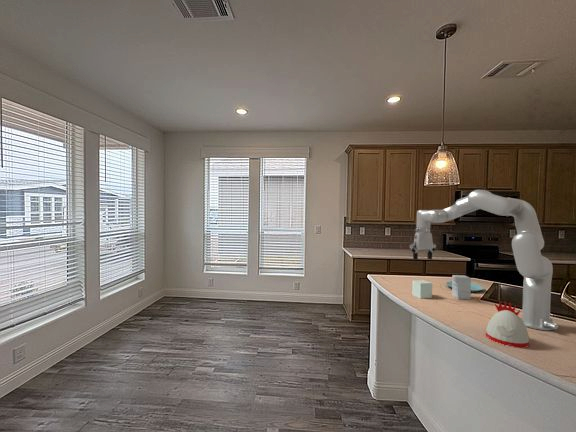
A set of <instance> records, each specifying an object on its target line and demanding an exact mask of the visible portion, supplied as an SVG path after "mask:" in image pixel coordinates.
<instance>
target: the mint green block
mask: <svg viewBox="0 0 576 432" xmlns="http://www.w3.org/2000/svg"><path fill="white" fill-rule="evenodd" d="M411 282H412V287H411V289H412V290H411V291H412V292H411V296H414V297H416V298H419V299H432V298H433V283H432V282H431V281H427V280H425V279H417V280H414V279H413V280H412V281H411Z"/></svg>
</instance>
